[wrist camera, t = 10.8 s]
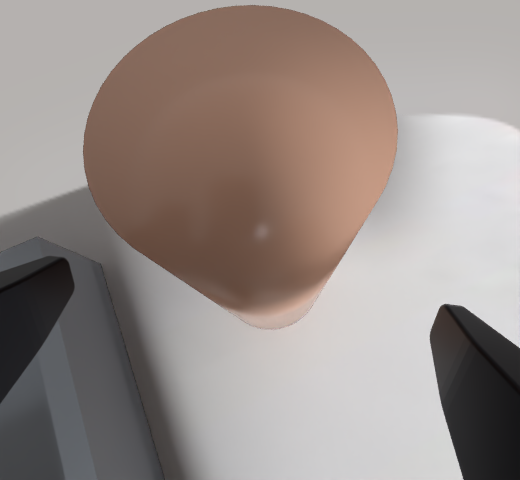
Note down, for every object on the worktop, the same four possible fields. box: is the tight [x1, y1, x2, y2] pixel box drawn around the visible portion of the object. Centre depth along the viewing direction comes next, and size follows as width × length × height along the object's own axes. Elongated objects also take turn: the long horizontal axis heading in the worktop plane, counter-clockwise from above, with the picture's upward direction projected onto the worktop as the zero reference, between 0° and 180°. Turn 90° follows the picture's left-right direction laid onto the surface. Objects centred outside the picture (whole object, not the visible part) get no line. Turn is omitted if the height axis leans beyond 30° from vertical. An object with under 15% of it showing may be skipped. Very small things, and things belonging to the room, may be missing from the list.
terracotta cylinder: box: [83, 5, 398, 330], centre depth 12 cm, size 5×5×13 cm
